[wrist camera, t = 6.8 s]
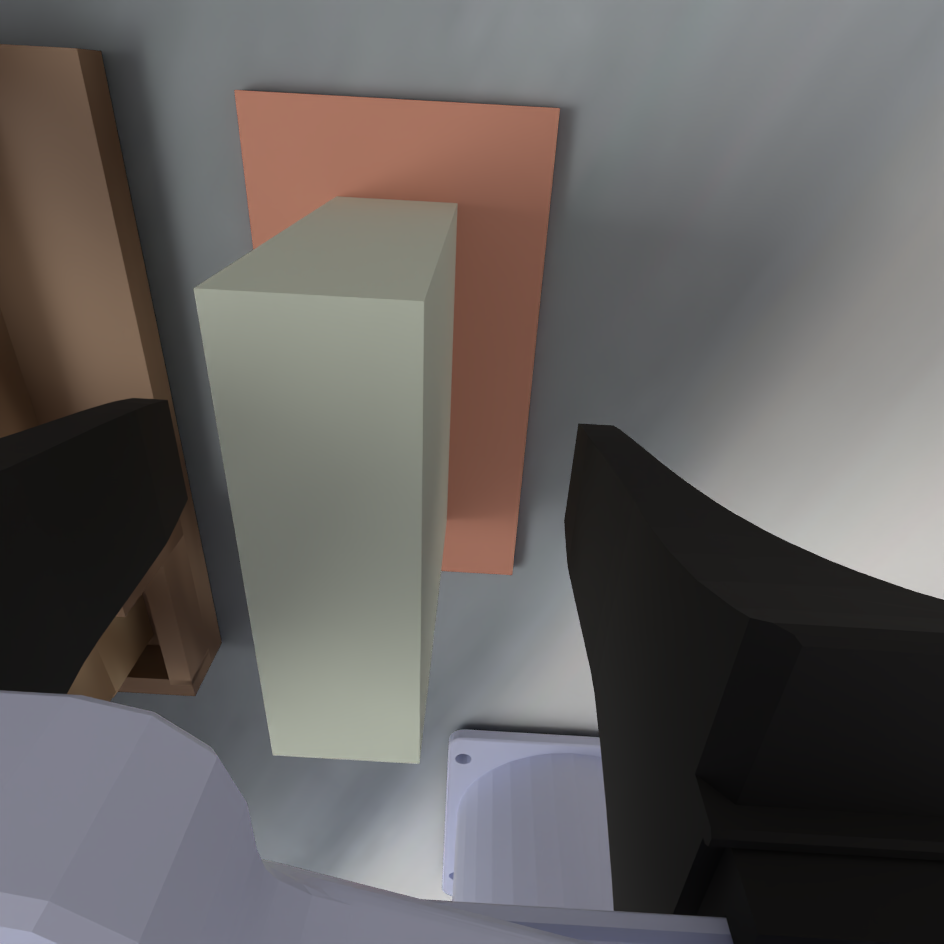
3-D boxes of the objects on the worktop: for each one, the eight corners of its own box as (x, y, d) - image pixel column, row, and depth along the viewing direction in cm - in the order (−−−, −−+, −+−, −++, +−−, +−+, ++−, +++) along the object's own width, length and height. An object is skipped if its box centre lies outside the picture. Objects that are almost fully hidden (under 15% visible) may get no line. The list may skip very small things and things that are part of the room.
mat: (511, 567, 18) (511, 574, 17) (293, 555, 18) (290, 562, 17) (558, 108, 12) (559, 108, 12) (239, 89, 12) (234, 90, 12)
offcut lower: (153, 634, 18) (113, 697, 16) (-58, 622, 18) (-122, 683, 16) (128, 543, 17) (81, 602, 15) (-104, 530, 17) (-180, 586, 15)
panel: (446, 519, 17) (419, 763, 11) (353, 514, 17) (273, 755, 11) (457, 203, 13) (423, 301, 7) (336, 196, 13) (193, 288, 7)
